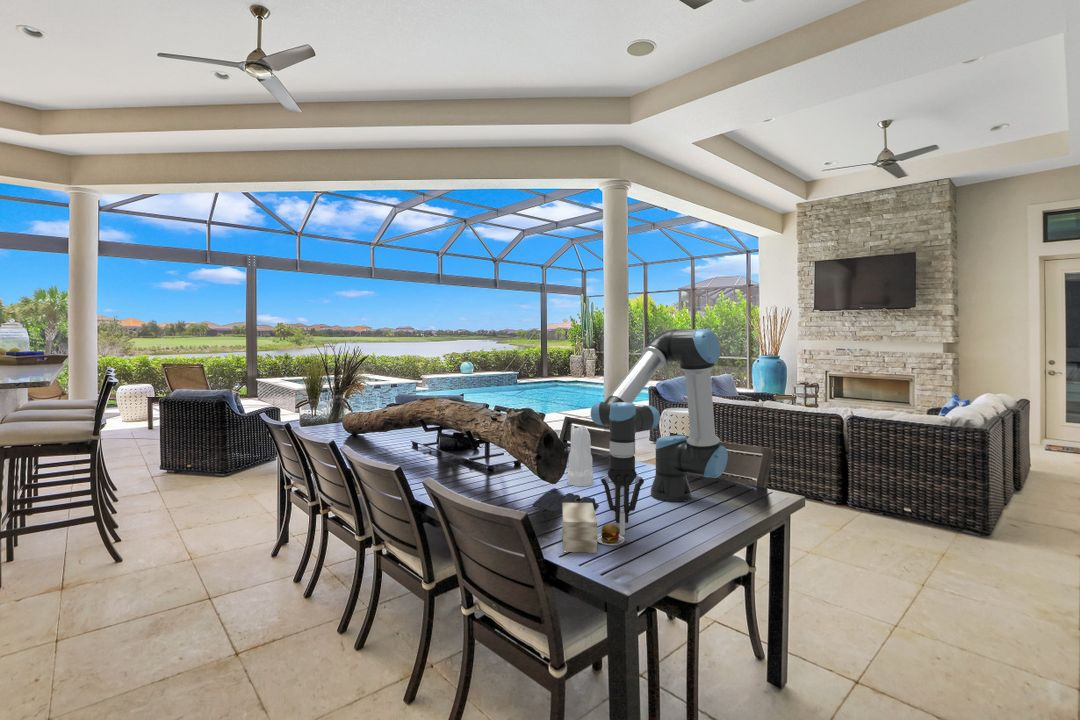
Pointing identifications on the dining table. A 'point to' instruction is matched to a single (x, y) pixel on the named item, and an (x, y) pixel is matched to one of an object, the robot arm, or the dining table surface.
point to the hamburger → (610, 535)
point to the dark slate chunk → (561, 501)
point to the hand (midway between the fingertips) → (621, 533)
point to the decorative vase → (580, 458)
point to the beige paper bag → (579, 527)
